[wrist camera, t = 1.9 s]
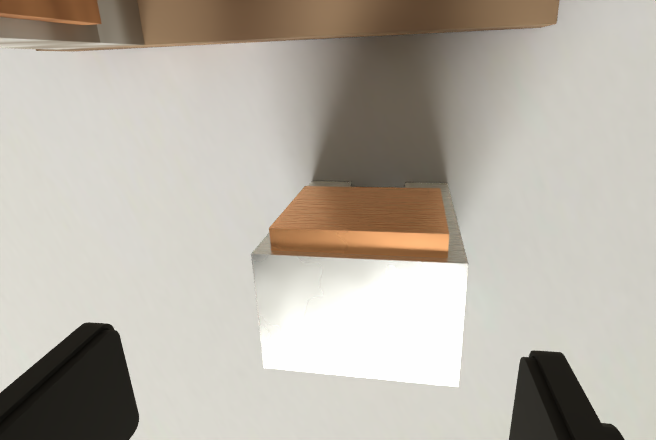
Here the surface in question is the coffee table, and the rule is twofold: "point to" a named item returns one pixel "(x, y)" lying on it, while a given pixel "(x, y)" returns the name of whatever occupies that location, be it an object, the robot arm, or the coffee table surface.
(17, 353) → the coffee table surface
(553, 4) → the rail
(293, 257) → the white and wooden block
